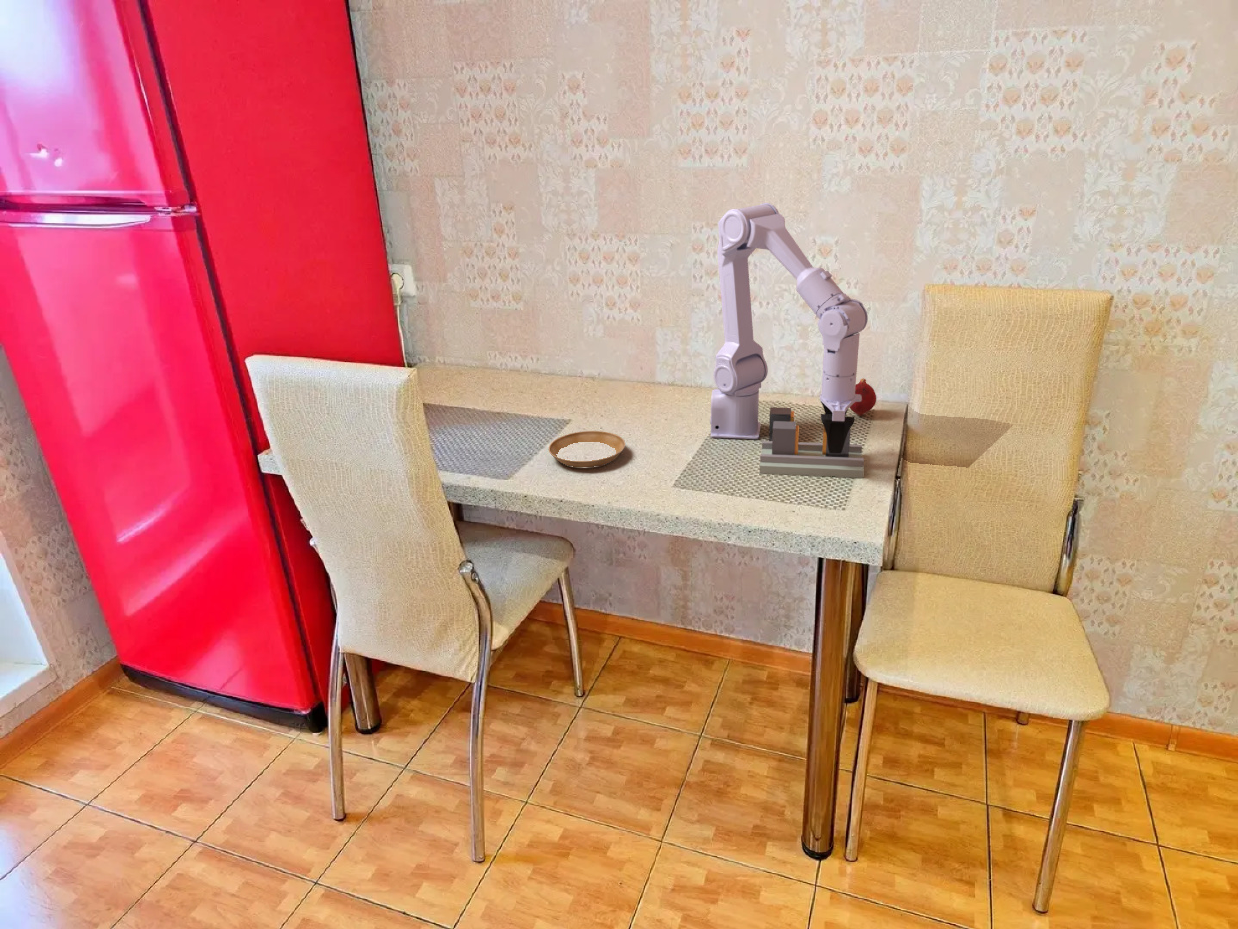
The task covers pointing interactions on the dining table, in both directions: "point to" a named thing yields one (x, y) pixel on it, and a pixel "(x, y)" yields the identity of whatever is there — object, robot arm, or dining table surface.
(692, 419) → the dining table surface
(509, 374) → the dining table surface
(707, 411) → the dining table surface
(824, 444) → the brushed grey cube
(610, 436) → the plant saucer
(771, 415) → the block
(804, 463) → the rail
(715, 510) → the dining table surface
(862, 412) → the onion
